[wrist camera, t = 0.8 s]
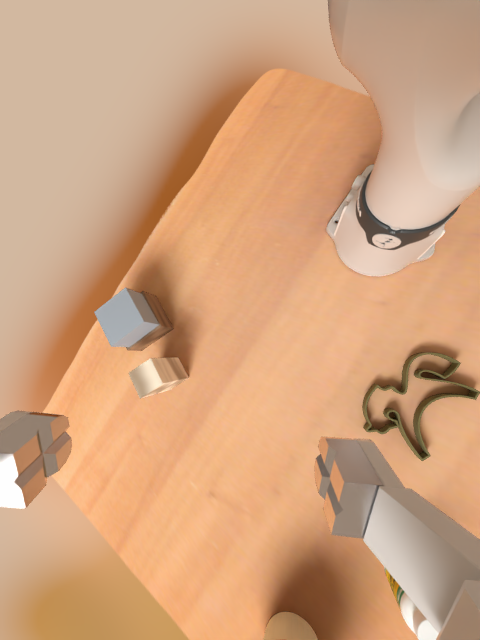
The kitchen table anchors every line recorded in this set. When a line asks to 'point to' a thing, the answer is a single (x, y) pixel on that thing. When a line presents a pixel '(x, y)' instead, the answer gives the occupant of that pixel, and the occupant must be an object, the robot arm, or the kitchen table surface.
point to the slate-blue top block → (126, 318)
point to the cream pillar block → (158, 376)
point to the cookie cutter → (418, 413)
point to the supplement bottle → (411, 612)
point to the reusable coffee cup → (288, 628)
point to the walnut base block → (159, 330)
